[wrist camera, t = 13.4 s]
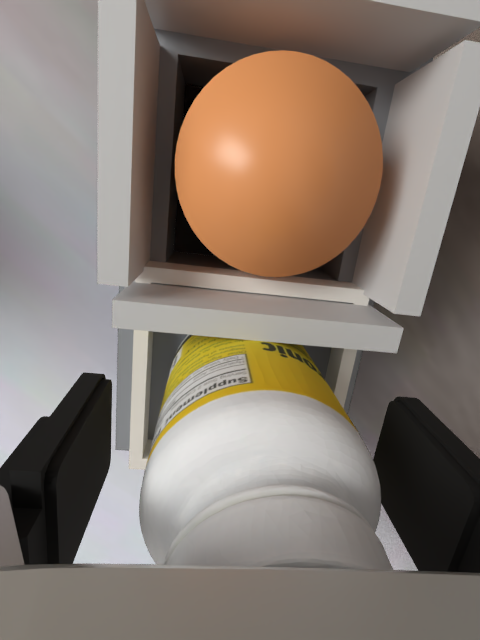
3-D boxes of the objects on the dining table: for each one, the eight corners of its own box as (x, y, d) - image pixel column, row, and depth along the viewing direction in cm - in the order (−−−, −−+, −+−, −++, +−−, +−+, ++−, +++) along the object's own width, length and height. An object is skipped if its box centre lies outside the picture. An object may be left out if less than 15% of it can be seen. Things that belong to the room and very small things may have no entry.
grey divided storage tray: (144, 10, 13) (85, -155, 7) (397, 54, 14) (537, -57, 8) (130, 410, 18) (88, 518, 12) (317, 423, 19) (366, 528, 13)
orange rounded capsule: (193, 92, 14) (182, 31, 9) (339, 115, 14) (406, 69, 9) (182, 244, 15) (167, 266, 10) (313, 259, 16) (358, 286, 11)
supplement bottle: (329, 389, 15) (511, 687, 6) (217, 450, 16) (223, 810, 6) (266, 279, 14) (379, 453, 4) (144, 351, 14) (10, 643, 5)
